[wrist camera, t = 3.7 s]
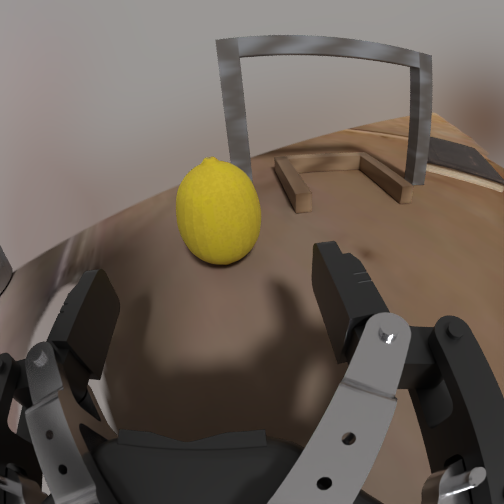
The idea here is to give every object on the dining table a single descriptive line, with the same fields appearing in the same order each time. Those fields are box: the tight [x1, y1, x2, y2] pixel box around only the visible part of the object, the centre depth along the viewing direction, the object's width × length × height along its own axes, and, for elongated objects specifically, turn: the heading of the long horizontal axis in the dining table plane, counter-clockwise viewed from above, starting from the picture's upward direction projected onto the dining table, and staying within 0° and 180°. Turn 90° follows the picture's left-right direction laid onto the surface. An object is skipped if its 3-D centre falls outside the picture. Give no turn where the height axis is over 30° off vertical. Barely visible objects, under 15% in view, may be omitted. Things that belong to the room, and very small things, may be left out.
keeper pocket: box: [216, 35, 432, 213], centre depth 26 cm, size 24×12×17 cm, turn 95°
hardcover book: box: [426, 137, 504, 192], centre depth 39 cm, size 16×23×2 cm
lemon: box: [176, 157, 261, 265], centre depth 18 cm, size 6×6×8 cm
